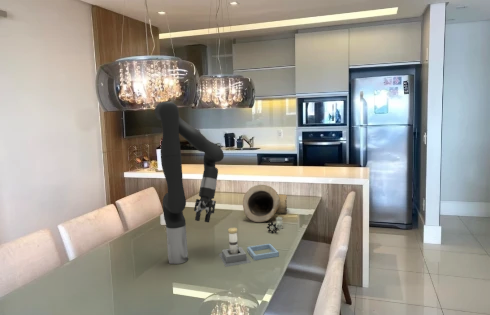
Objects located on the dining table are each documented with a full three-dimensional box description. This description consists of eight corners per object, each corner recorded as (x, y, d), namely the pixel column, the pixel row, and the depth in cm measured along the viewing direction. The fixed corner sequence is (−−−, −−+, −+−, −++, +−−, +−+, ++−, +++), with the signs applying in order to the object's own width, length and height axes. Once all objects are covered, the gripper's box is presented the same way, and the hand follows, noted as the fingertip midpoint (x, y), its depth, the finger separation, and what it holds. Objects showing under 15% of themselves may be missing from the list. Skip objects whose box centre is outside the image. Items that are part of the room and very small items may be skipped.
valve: (275, 226, 220) (266, 233, 210) (275, 216, 220) (266, 221, 209) (286, 228, 217) (277, 234, 207) (285, 217, 216) (277, 223, 206)
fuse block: (225, 269, 164) (225, 260, 164) (218, 256, 180) (218, 247, 179) (251, 265, 167) (251, 256, 167) (242, 252, 183) (241, 244, 182)
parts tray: (254, 263, 170) (254, 255, 169) (247, 253, 181) (247, 246, 181) (279, 259, 173) (278, 252, 172) (270, 250, 184) (270, 243, 184)
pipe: (287, 223, 255) (290, 220, 226) (245, 224, 256) (243, 222, 226) (285, 189, 260) (288, 183, 231) (243, 190, 261) (241, 184, 231)
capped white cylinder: (230, 260, 171) (229, 231, 169) (228, 256, 175) (227, 228, 173) (239, 258, 172) (238, 229, 170) (237, 255, 176) (235, 227, 174)
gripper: (193, 186, 182) (187, 219, 179) (209, 186, 171) (203, 221, 168) (206, 189, 186) (200, 221, 183) (222, 189, 175) (216, 223, 172)
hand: (201, 221), depth 175 cm, fingers open, 8 cm apart
